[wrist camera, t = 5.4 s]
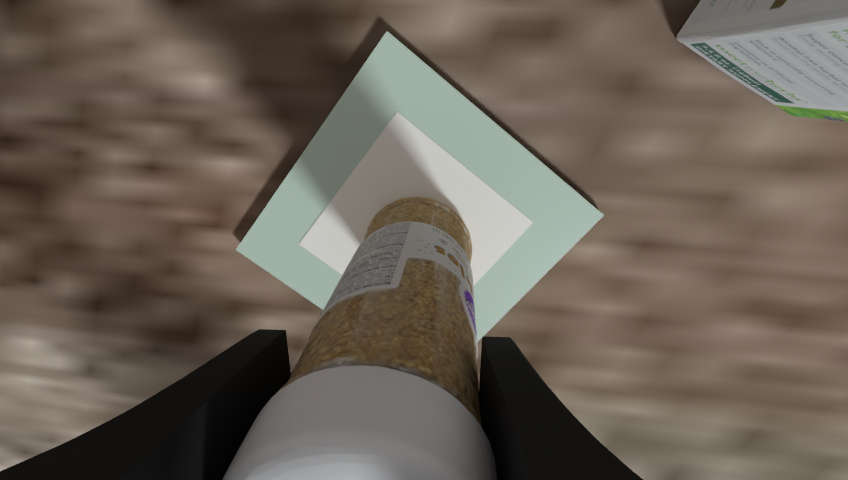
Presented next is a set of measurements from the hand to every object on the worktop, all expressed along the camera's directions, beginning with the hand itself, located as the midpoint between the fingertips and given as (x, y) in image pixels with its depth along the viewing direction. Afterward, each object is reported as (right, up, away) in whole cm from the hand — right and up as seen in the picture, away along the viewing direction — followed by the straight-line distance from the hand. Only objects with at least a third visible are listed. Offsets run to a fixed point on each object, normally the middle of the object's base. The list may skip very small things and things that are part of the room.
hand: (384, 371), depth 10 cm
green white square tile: (+1, +3, +9) cm, 10 cm away
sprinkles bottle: (+1, +3, +9) cm, 10 cm away
